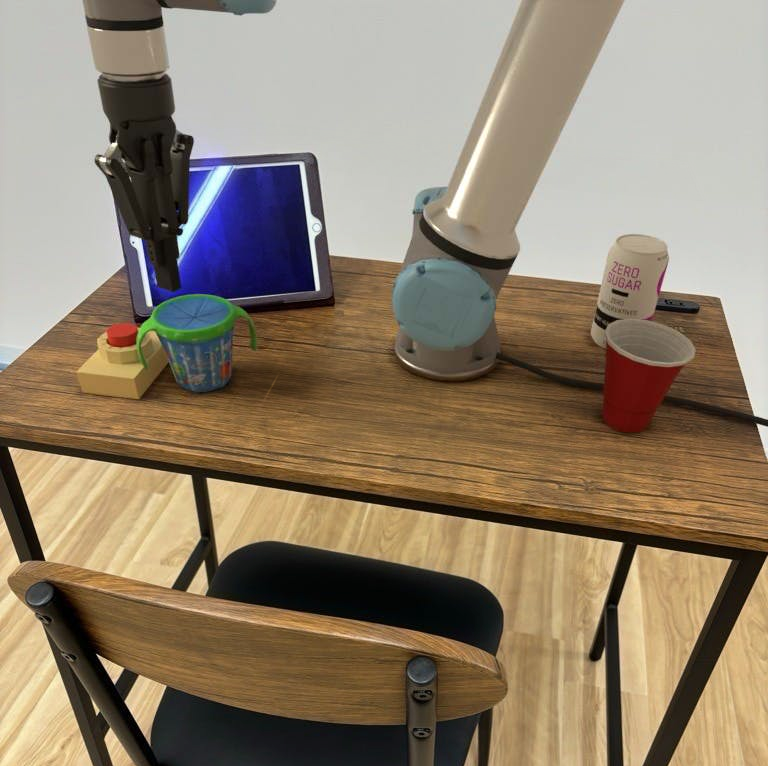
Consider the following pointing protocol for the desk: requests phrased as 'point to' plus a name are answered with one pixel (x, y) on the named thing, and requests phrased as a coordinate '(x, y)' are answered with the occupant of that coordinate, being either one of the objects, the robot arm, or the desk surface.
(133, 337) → the button
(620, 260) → the supplement can
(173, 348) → the snack cup
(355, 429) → the desk surface
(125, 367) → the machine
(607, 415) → the plastic cup
